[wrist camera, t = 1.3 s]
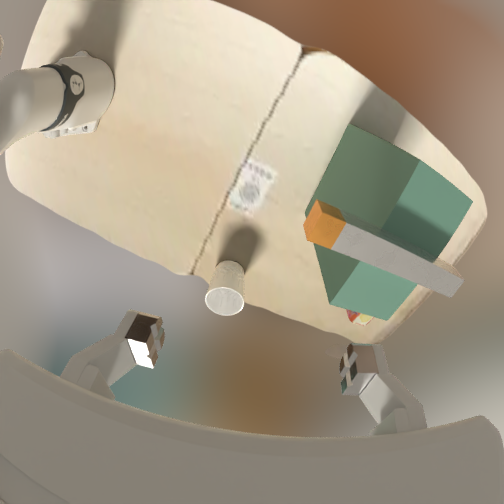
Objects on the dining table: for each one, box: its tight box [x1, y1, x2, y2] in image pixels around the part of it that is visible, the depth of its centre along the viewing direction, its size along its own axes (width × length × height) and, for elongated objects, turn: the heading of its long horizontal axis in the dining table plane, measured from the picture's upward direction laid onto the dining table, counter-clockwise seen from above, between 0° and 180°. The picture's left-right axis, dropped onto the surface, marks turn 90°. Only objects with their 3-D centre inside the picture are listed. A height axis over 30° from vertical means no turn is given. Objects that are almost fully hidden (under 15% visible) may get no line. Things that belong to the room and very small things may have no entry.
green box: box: [305, 124, 473, 320], centre depth 39 cm, size 10×20×26 cm, turn 159°
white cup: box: [205, 261, 244, 315], centre depth 59 cm, size 8×8×10 cm
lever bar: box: [303, 199, 464, 298], centre depth 27 cm, size 22×3×3 cm, turn 69°
